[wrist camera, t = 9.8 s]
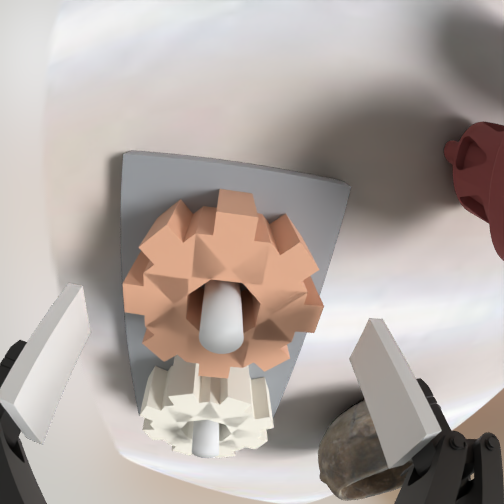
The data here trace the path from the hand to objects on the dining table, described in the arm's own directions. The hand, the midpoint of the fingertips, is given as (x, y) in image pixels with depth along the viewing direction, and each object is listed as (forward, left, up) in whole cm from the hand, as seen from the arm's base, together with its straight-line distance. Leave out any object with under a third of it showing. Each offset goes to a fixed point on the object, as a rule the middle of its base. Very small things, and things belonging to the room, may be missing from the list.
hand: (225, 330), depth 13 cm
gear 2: (+12, 0, -6) cm, 14 cm away
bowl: (+18, +19, -8) cm, 27 cm away
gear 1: (0, 0, -6) cm, 6 cm away
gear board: (+6, 0, -8) cm, 10 cm away
